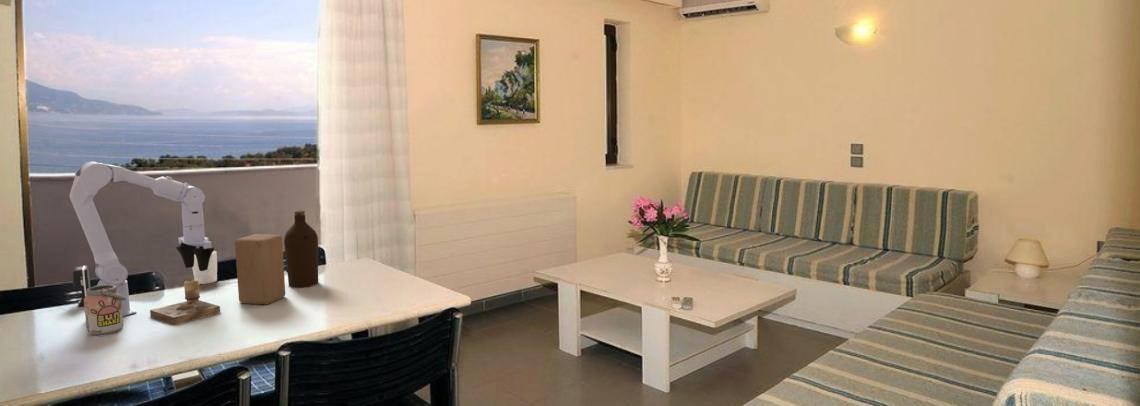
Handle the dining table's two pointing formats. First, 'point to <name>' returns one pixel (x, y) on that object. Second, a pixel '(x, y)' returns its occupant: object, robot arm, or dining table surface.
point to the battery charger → (81, 281)
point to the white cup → (208, 274)
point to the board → (184, 311)
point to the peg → (191, 290)
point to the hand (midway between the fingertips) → (196, 268)
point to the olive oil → (301, 253)
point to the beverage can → (103, 310)
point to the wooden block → (260, 268)
